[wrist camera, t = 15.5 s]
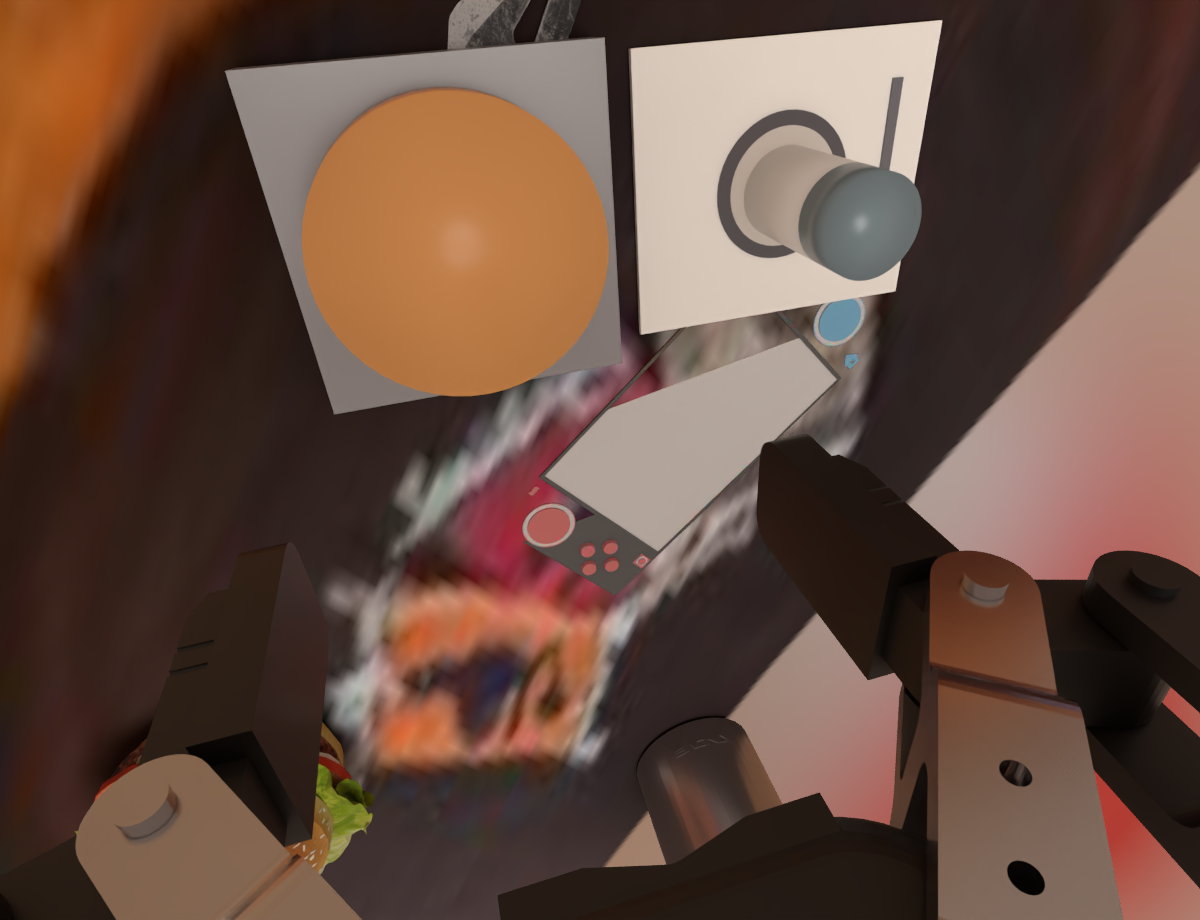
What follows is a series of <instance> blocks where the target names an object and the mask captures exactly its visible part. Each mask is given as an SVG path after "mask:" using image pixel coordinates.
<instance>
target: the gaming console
mask: <svg viewBox="0 0 1200 920" xmlns="http://www.w3.org/2000/svg"><path fill="white" fill-rule="evenodd" d="M776 313H777V314H778V315H779V316H780V317H781V318H782V319H783V320H784V322H785V323H786V324H787V325H788V326H789V327H790V328H791V329H792V330H793V331H794V333H795V334H796V335H797V336H798V337H799V338H798V339H795V340H792V341H790V342H787V343H784V344H782V345H779V346H776V347H774V348H771V349H768V350H766V351H763V352H760V353H758V354H755V355H752V356H750V357H747V358H744V359H742V360H739V361H736V362H734V363H731V364H728V365H726V366H723V367H720V368H718V369H715V370H712V371H709V372H707V373H704V374H702V375H699V376H696V377H694V378H691V379H688V380H685V381H683V382H680V383H677V384H675V385H672V386H669V387H667V388H664V389H661V390H659V391H656V392H653V393H651V394H648V395H645V396H643V397H640V398H637V399H635V400H632V401H629V402H627V403H624V404H621V405H619V406H616V407H613V408H611V409H609V408H610V407H611V406H612V405H613V404H614V403H615V402H616V401H617V400H618V399H619V397H620V396H621V395H622V394H623V393H624V392H625V391H626V390H627V389H628V388H629V387H630V386H631V385H632V384H633V383H634V382H635V381H636V380H637V379H638V378H639V376H640V375H641V374H642V373H643V372H644V371H645V370H646V369H647V368H648V367H649V366H650V365H651V364H652V363H653V362H654V361H655V360H656V359H657V358H658V357H659V355H660V354H661V353H662V352H663V351H664V350H665V349H666V348H667V347H668V346H669V345H670V344H671V343H672V342H673V341H674V340H675V339H676V338H677V337H678V336H679V334H680V333H681V332H682V331H683V330H684V329H685V328H686V327H683V328H680V329H679V330H678V331H677V332H676V333H675V334H674V335H673V336H672V337H671V338H670V340H669V341H668V342H667V343H666V344H665V345H664V346H663V347H662V348H661V349H660V350H659V351H658V352H657V353H656V354H655V355H654V356H653V357H652V358H651V360H650V361H649V362H648V363H647V364H646V365H645V366H644V367H643V368H642V369H641V370H640V371H639V372H638V373H637V374H636V375H635V376H634V377H633V378H632V380H631V381H630V382H629V383H628V384H627V385H626V386H625V387H624V388H623V389H622V390H621V391H620V392H619V393H618V394H617V395H616V396H615V397H614V398H613V399H612V401H611V402H610V403H609V404H608V405H607V406H606V407H605V408H604V409H603V410H602V411H601V412H600V413H599V414H598V415H597V416H596V417H595V418H594V419H593V421H592V422H591V423H590V424H589V425H588V426H587V427H586V428H585V429H584V430H583V431H582V432H581V433H580V434H579V435H578V436H577V437H576V438H575V439H574V441H573V442H572V443H571V444H570V445H569V446H568V447H567V448H566V449H565V450H564V451H563V452H562V453H561V454H560V455H559V456H558V457H557V458H556V459H555V460H554V462H553V463H552V464H551V465H550V466H549V467H548V468H547V469H546V470H545V471H544V472H543V473H542V474H541V475H540V476H539V478H540V479H542V480H543V481H545V482H546V483H548V484H549V485H551V486H552V487H554V488H556V489H557V490H559V491H560V492H562V493H563V494H565V495H566V496H568V497H569V498H571V499H572V500H574V501H575V502H577V503H578V504H580V505H581V506H583V507H584V508H586V509H587V510H589V511H590V512H592V513H593V514H595V515H593V516H590V517H587V518H585V519H582V520H580V521H577V522H575V517H574V514H573V513H572V511H571V510H570V509H569V508H568V507H566V506H564V505H562V504H558V503H548V504H544V505H541V506H538V507H536V508H535V509H533V510H532V511H531V512H530V513H529V514H528V515H527V516H526V518H525V520H524V522H523V526H522V532H523V535H524V537H525V539H526V540H527V541H525V542H524V543H526V544H528V545H529V546H531V547H533V548H534V549H536V550H538V551H540V552H541V553H543V554H545V555H546V556H548V557H550V558H552V559H553V560H555V561H557V562H558V563H560V564H562V565H564V566H565V567H567V568H569V569H570V570H572V571H574V572H576V573H577V574H579V575H581V576H582V577H584V578H586V579H588V580H589V581H591V582H593V583H594V584H596V585H598V586H600V587H601V588H603V589H605V590H607V591H608V592H610V593H612V594H613V595H615V596H616V595H617V594H618V593H619V592H620V591H621V590H622V589H623V588H624V587H625V586H626V585H627V584H628V583H629V582H630V581H631V580H632V579H633V578H635V577H636V576H637V575H638V574H639V573H640V572H641V571H642V570H643V569H644V568H645V567H646V566H647V565H648V564H649V563H650V562H651V561H652V560H653V559H654V558H655V557H656V556H657V555H659V554H660V553H661V552H662V551H663V550H664V549H665V548H666V547H667V546H668V545H669V544H670V543H671V542H672V541H673V540H674V539H675V538H676V537H677V536H678V535H679V534H680V533H682V532H683V531H684V530H685V529H686V528H687V527H688V526H689V525H690V524H691V523H692V522H693V521H694V520H695V519H696V518H697V517H698V516H699V515H700V514H701V513H702V512H703V511H704V510H706V509H707V508H708V507H709V506H710V505H711V504H712V503H713V502H714V501H715V500H716V499H717V498H718V497H719V496H720V495H721V494H722V493H723V492H724V491H725V490H726V489H727V488H728V487H730V486H731V485H732V484H733V483H734V482H735V481H736V480H737V479H738V478H739V477H740V476H741V475H742V474H743V473H744V472H745V471H746V470H747V469H748V468H749V467H750V466H751V465H752V464H754V463H755V462H756V461H757V460H758V459H759V458H760V452H761V448H762V446H763V444H764V443H766V442H770V441H774V440H777V439H778V438H779V437H780V436H781V435H782V434H783V433H784V432H785V431H786V430H787V429H789V428H790V427H791V426H792V425H793V424H794V423H795V422H796V421H797V420H798V419H799V418H800V417H801V416H802V415H803V414H804V413H805V412H806V411H807V410H808V409H809V408H810V407H811V406H812V405H814V404H815V403H816V402H817V401H818V400H819V399H820V398H821V397H822V396H823V395H824V394H825V393H826V392H827V391H828V390H829V389H830V388H831V387H832V386H833V385H834V384H835V383H836V382H838V381H839V380H840V379H841V377H840V376H839V375H838V374H837V373H836V372H835V371H834V369H833V368H832V367H831V366H830V365H829V364H828V363H827V362H826V361H825V359H824V358H823V357H822V356H821V355H820V354H819V353H818V352H817V350H816V349H815V348H814V347H813V346H812V345H811V344H810V343H809V342H808V340H807V339H806V338H805V337H804V336H803V335H802V334H801V333H800V331H799V330H798V329H797V328H796V327H795V326H794V325H793V324H792V323H791V321H790V320H789V319H788V318H787V317H786V316H785V315H784V314H783V313H782V311H776ZM864 318H865V305H864V302H863V300H862V299H861V298H860V297H858V298H852V299H847V300H841V301H835V302H829V303H823V304H822V305H821V307H820V308H819V310H818V311H817V313H816V316H815V318H814V323H813V331H814V335H815V337H816V339H817V340H818V341H819V342H820V343H821V344H823V345H825V346H830V347H833V346H839V345H842V344H844V343H846V342H848V341H849V340H850V339H852V338H853V337H854V336H855V335H856V333H857V332H858V331H859V329H860V328H861V326H862V324H863V321H864ZM857 355H858V354H849V355H846V357H845V363H844V367H845V366H847V367H848V368H849V369H850V368H851V367H852V366H853V365H854V364H855V363H856V362H858V361H859V359H858V357H857ZM852 360H854V362H853V363H852V364H851V363H850V362H851V361H852ZM538 489H539V487H537V486H535V487H534V488H533V489H532V490H531V491H530V492H529V493H528V494H529V495H531V496H533V495H534V494H535V493H536V491H537V490H538Z"/></svg>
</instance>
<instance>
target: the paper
mask: <svg viewBox="0 0 1200 920" xmlns="http://www.w3.org/2000/svg"><path fill="white" fill-rule="evenodd" d="M941 25H942V20H936V21H925V22H914V23H903V24H892V25H881V26H870V27H859V28H848V29H837V30H826V31H815V32H804V33H793V34H782V35H771V36H760V37H749V38H738V39H728V40H717V41H706V42H695V43H684V44H673V45H662V46H651V47H640V48H629V49H628V50H629V77H630V103H631V130H632V156H633V183H634V209H635V236H636V262H637V289H638V315H639V333H640V334H641V335H642V334H648V333H653V332H659V331H665V330H671V329H677V328H683V327H689V326H694V325H700V324H706V323H712V322H718V321H724V320H729V319H735V318H741V317H747V316H753V315H759V314H765V313H770V312H776V311H782V310H788V309H794V308H800V307H806V306H811V305H817V304H823V303H829V302H835V301H841V300H847V299H852V298H858V297H864V296H870V295H876V294H882V293H888V292H893V291H895V290H896V285H897V279H898V273H899V267H900V262H901V260H900V261H899V262H898V263H897V264H896V265H895V266H894V267H893V268H892V269H890V270H889V271H887V272H886V273H884V274H883V275H881V276H879V277H876V278H873V279H870V280H866V281H853V280H849V279H846V278H844V277H842V276H840V275H838V274H836V273H834V272H833V271H831V270H829V269H827V268H825V267H823V266H821V265H819V264H818V263H816V262H814V261H812V260H810V259H808V258H806V257H805V256H803V255H801V254H799V253H797V252H795V251H793V250H792V249H790V248H788V247H786V246H784V245H782V244H780V243H778V242H777V241H775V240H773V239H771V238H769V237H767V236H765V235H764V234H762V233H760V232H758V231H757V230H756V229H755V228H754V227H753V226H752V225H751V223H750V222H749V220H748V218H747V216H746V212H745V208H744V191H745V187H746V183H747V180H748V178H749V176H750V173H751V172H752V170H753V168H754V167H755V166H756V164H757V163H758V162H759V161H760V160H761V159H762V157H764V156H765V155H766V154H767V153H769V152H770V151H772V150H774V149H776V148H778V147H781V146H784V145H800V146H803V147H807V148H811V149H814V150H818V151H821V152H825V153H829V154H832V155H836V156H840V157H843V158H847V159H850V160H854V161H858V162H861V163H865V164H869V165H872V166H876V167H879V168H883V169H887V170H890V171H894V172H897V173H900V174H902V175H904V176H906V177H907V178H908V179H910V180H911V181H912V183H913V184H914V181H915V175H916V169H917V164H918V158H919V152H920V146H921V141H922V135H923V129H924V123H925V118H926V112H927V106H928V100H929V95H930V89H931V83H932V77H933V71H934V66H935V60H936V54H937V48H938V43H939V37H940V31H941Z"/></svg>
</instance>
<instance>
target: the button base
mask: <svg viewBox="0 0 1200 920" xmlns="http://www.w3.org/2000/svg"><path fill="white" fill-rule="evenodd" d="M225 72H226V75H227V79H228V82H229V85H230V88H231V91H232V94H233V97H234V101H235V104H236V107H237V110H238V113H239V116H240V119H241V123H242V126H243V129H244V132H245V135H246V138H247V141H248V145H249V148H250V151H251V154H252V157H253V160H254V163H255V167H256V170H257V173H258V176H259V179H260V182H261V185H262V189H263V192H264V195H265V198H266V201H267V204H268V207H269V211H270V214H271V217H272V220H273V223H274V226H275V229H276V233H277V236H278V239H279V242H280V245H281V248H282V251H283V254H284V258H285V261H286V264H287V267H288V270H289V273H290V276H291V280H292V283H293V286H294V289H295V292H296V295H297V298H298V302H299V305H300V308H301V311H302V314H303V317H304V320H305V324H306V327H307V330H308V333H309V336H310V339H311V342H312V346H313V349H314V352H315V355H316V358H317V361H318V364H319V368H320V371H321V374H322V377H323V380H324V383H325V386H326V390H327V393H328V396H329V399H330V402H331V405H332V408H333V412H334V414H339V413H344V412H350V411H356V410H361V409H367V408H373V407H378V406H384V405H389V404H395V403H401V402H406V401H412V400H418V399H423V398H429V397H434V396H440V395H438V394H431V393H427V392H423V391H419V390H415V389H412V388H409V387H407V386H404V385H401V384H398V383H396V382H394V381H392V380H390V379H388V378H386V377H384V376H382V375H381V374H379V373H378V372H376V371H375V370H373V369H372V368H370V367H369V366H367V365H366V364H364V363H363V362H362V361H361V360H360V359H358V358H357V357H356V356H355V355H354V354H353V353H351V352H350V351H349V350H348V348H347V347H346V346H345V345H344V344H343V343H342V342H341V341H340V340H339V339H338V338H337V336H336V335H335V334H334V332H333V331H332V329H331V328H330V327H329V325H328V324H327V322H326V321H325V319H324V317H323V315H322V314H321V312H320V310H319V308H318V306H317V304H316V302H315V300H314V297H313V294H312V292H311V289H310V287H309V284H308V280H307V276H306V271H305V267H304V263H303V252H302V223H303V216H304V211H305V206H306V200H307V197H308V194H309V191H310V189H311V186H312V183H313V180H314V178H315V175H316V173H317V171H318V169H319V167H320V165H321V163H322V161H323V159H324V157H325V155H326V153H327V152H328V150H329V149H330V147H331V146H332V144H333V143H334V142H335V140H336V139H337V138H338V136H339V135H340V134H341V133H342V132H343V131H344V130H345V129H346V128H347V127H348V126H349V125H350V124H351V123H352V122H353V121H354V120H355V119H356V118H358V117H359V116H360V115H362V114H363V113H365V112H366V111H367V110H369V109H370V108H371V107H373V106H375V105H377V104H379V103H381V102H383V101H385V100H387V99H389V98H391V97H394V96H397V95H400V94H403V93H406V92H409V91H413V90H419V89H425V88H431V87H457V88H465V89H473V90H477V91H480V92H484V93H488V94H491V95H494V96H497V97H499V98H501V99H504V100H506V101H508V102H511V103H513V104H515V105H516V106H518V107H520V108H521V109H523V110H525V111H526V112H528V113H530V114H531V115H533V116H535V117H536V118H538V119H540V120H541V121H542V122H544V123H545V124H546V125H547V126H549V127H550V128H551V129H552V130H554V131H555V132H556V133H557V134H558V135H559V136H560V137H561V138H562V139H563V140H564V141H565V142H566V143H567V144H568V145H569V146H570V147H571V148H572V150H573V151H574V152H575V154H576V155H577V156H578V158H579V159H580V160H581V162H582V163H583V165H584V166H585V168H586V170H587V172H588V173H589V175H590V177H591V179H592V181H593V182H594V185H595V187H596V190H597V192H598V195H599V197H600V200H601V203H602V206H603V210H604V214H605V218H606V223H607V232H608V240H609V259H608V267H607V275H606V280H605V284H604V288H603V292H602V295H601V298H600V301H599V303H598V306H597V308H596V311H595V313H594V315H593V317H592V318H591V320H590V322H589V324H588V326H587V328H586V329H585V330H584V332H583V333H582V335H581V336H580V337H579V339H578V340H577V342H576V343H575V344H574V345H573V346H572V347H571V348H570V349H569V350H568V352H567V353H566V354H565V355H564V356H563V357H561V358H560V359H559V360H558V361H557V362H556V363H554V364H553V365H552V366H551V367H549V368H548V369H546V370H545V371H543V372H542V373H540V374H539V375H537V376H536V377H534V378H532V379H536V378H541V377H547V376H553V375H558V374H564V373H569V372H575V371H581V370H586V369H592V368H598V367H603V366H609V365H614V364H620V363H622V354H621V335H620V316H619V298H618V279H617V261H616V242H615V223H614V205H613V186H612V167H611V149H610V130H609V112H608V93H607V74H606V56H605V38H602V37H584V38H573V39H563V40H551V41H540V42H527V43H516V44H505V45H493V46H482V47H470V48H458V49H446V50H435V51H423V52H412V53H401V54H389V55H378V56H366V57H355V58H343V59H332V60H320V61H309V62H297V63H286V64H274V65H263V66H251V67H240V68H233V69H230V70H226V71H225Z"/></svg>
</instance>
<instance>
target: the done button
mask: <svg viewBox="0 0 1200 920" xmlns="http://www.w3.org/2000/svg"><path fill="white" fill-rule="evenodd" d="M302 252H303V263H304V267H305V271H306V276H307V280H308V284H309V287H310V289H311V292H312V294H313V297H314V300H315V302H316V304H317V306H318V308H319V310H320V312H321V314H322V315H323V317H324V319H325V321H326V322H327V324H328V325H329V327H330V328H331V329H332V331H333V332H334V334H335V335H336V336H337V338H338V339H339V340H340V341H341V342H342V343H343V344H344V345H345V346H346V347H347V348H348V350H349V351H350V352H351V353H353V354H354V355H355V356H356V357H357V358H358V359H360V360H361V361H362V362H363V363H364V364H366V365H367V366H369V367H370V368H372V369H373V370H375V371H376V372H378V373H379V374H381V375H382V376H384V377H386V378H388V379H390V380H392V381H394V382H396V383H398V384H401V385H404V386H407V387H409V388H412V389H415V390H419V391H423V392H427V393H431V394H438V395H446V396H475V395H483V394H490V393H494V392H498V391H502V390H506V389H509V388H511V387H514V386H517V385H519V384H522V383H524V382H526V381H528V380H530V379H532V378H534V377H536V376H537V375H539V374H540V373H542V372H543V371H545V370H546V369H548V368H549V367H551V366H552V365H553V364H554V363H556V362H557V361H558V360H559V359H560V358H561V357H563V356H564V355H565V354H566V353H567V352H568V350H569V349H570V348H571V347H572V346H573V345H574V344H575V343H576V342H577V340H578V339H579V337H580V336H581V335H582V333H583V332H584V330H585V329H586V328H587V326H588V324H589V322H590V320H591V318H592V317H593V315H594V313H595V311H596V308H597V306H598V303H599V301H600V298H601V295H602V292H603V288H604V284H605V280H606V275H607V267H608V259H609V240H608V232H607V223H606V218H605V214H604V210H603V206H602V203H601V200H600V197H599V195H598V192H597V190H596V187H595V185H594V182H593V181H592V179H591V177H590V175H589V173H588V172H587V170H586V168H585V166H584V165H583V163H582V162H581V160H580V159H579V158H578V156H577V155H576V154H575V152H574V151H573V150H572V148H571V147H570V146H569V145H568V144H567V143H566V142H565V141H564V140H563V139H562V138H561V137H560V136H559V135H558V134H557V133H556V132H555V131H554V130H552V129H551V128H550V127H549V126H547V125H546V124H545V123H544V122H542V121H541V120H540V119H538V118H536V117H535V116H533V115H531V114H530V113H528V112H526V111H525V110H523V109H521V108H520V107H518V106H516V105H515V104H513V103H511V102H508V101H506V100H504V99H501V98H499V97H497V96H494V95H491V94H488V93H484V92H480V91H477V90H473V89H465V88H457V87H431V88H425V89H419V90H413V91H409V92H406V93H403V94H400V95H397V96H394V97H391V98H389V99H387V100H385V101H383V102H381V103H379V104H377V105H375V106H373V107H371V108H370V109H369V110H367V111H366V112H365V113H363V114H362V115H360V116H359V117H358V118H356V119H355V120H354V121H353V122H352V123H351V124H350V125H349V126H348V127H347V128H346V129H345V130H344V131H343V132H342V133H341V134H340V135H339V136H338V138H337V139H336V140H335V142H334V143H333V144H332V146H331V147H330V149H329V150H328V152H327V153H326V155H325V157H324V159H323V161H322V163H321V165H320V167H319V169H318V171H317V173H316V175H315V178H314V180H313V183H312V186H311V189H310V191H309V194H308V197H307V200H306V206H305V211H304V216H303V223H302Z"/></svg>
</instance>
